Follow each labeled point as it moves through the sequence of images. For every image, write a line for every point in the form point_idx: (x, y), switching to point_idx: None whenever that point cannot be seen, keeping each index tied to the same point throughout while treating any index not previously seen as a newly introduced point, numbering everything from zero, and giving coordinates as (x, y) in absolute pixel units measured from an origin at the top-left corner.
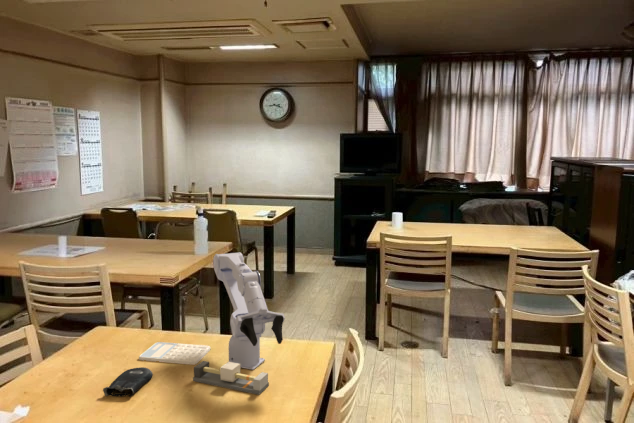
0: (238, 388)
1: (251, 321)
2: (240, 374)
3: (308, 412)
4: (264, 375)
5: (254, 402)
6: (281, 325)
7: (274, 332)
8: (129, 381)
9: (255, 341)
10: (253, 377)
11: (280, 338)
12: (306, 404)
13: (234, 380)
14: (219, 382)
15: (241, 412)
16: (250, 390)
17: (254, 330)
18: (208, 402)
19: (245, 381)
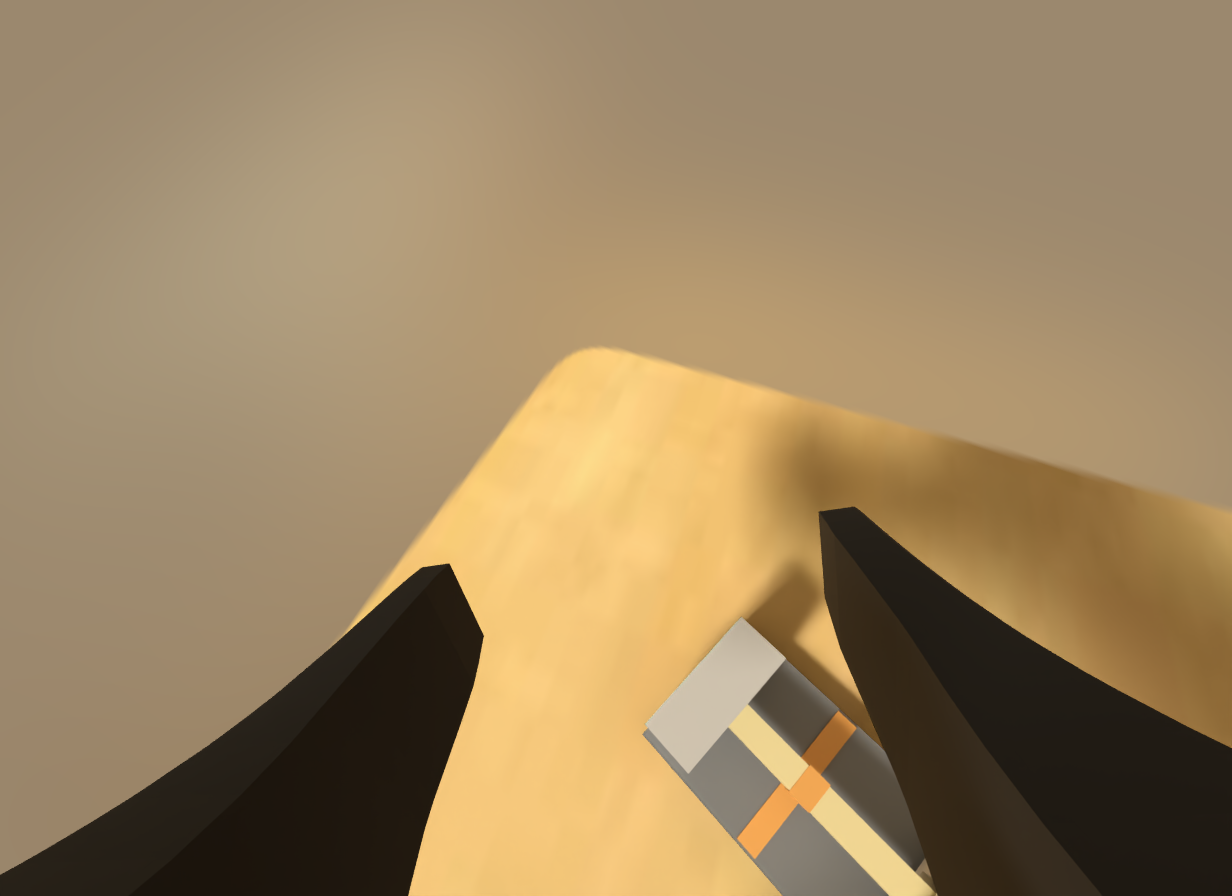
0: (882, 749)
1: (1140, 837)
2: (881, 863)
3: (553, 370)
4: (683, 693)
5: (786, 542)
6: (213, 748)
7: (398, 885)
8: None
9: (854, 509)
10: (770, 738)
11: (440, 570)
12: (529, 434)
13: (924, 862)
14: None
15: (875, 463)
16: (796, 670)
17: (906, 633)
18: (1107, 652)
19: (818, 837)
